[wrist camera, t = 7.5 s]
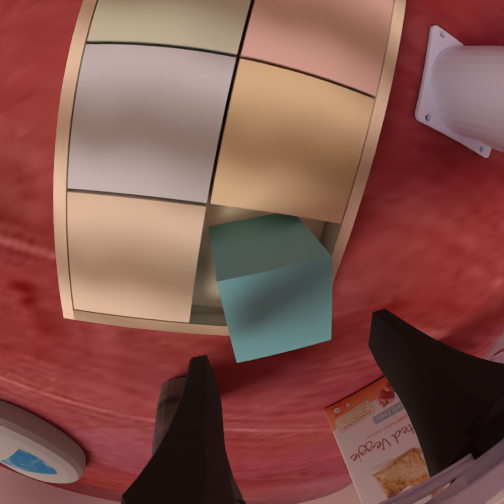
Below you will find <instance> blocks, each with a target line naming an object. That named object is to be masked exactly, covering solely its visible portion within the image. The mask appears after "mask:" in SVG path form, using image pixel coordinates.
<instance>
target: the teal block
mask: <svg viewBox="0 0 504 504" xmlns="http://www.w3.org/2000/svg"><path fill="white" fill-rule="evenodd" d="M209 233H210V240H211V247H212V254H213V261H214V268H215V274H216V281H217V285H218V290H219V294H220V298H221V302H222V306H223V310H224V314H225V318H226V322H227V327H228V330H229V334H230V338H231V342H232V346H233V350H234V354H235V358H236V362H237V363H239V362H244V361H249V360H253V359H258V358H262V357H266V356H271V355H275V354H279V353H283V352H287V351H291V350H295V349H299V348H302V347H306V346H310V345H314V344H317V343H321V342H324V341H328V340H331V327H332V256H331V255H330V253H329V252H328V251H327V250H326V249H325V247H324V246H323V245H322V244H321V243H320V242H319V240H318V239H317V238H316V237H315V236H314V235H313V234H312V232H311V231H310V230H309V229H308V228H307V227H306V225H305V224H304V223H303V222H302V221H301V220H300V219H299V217H298V216H292V215H286V214H279V213H274V214H269V215H264V216H259V217H254V218H248V219H243V220H238V221H233V222H228V223H223V224H218V225H214V226H209Z"/></svg>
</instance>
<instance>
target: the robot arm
mask: <svg viewBox="0 0 504 504" xmlns="http://www.w3.org/2000/svg"><path fill="white" fill-rule="evenodd" d="M440 33H441V35H442V37H441V35H440ZM426 115H427V120H426V119H425V116H426ZM415 118H416V119H417V120H418V121H419V122H421V123H423V124H425V125H427V126H429V127H431V128H433V129H435V130H437V131H439V132H441V133H443V134H444V135H446V136H448V137H450V138H452V139H454V140H455V141H457V142H459V143H461V144H462V145H464V146H466V147H468V148H469V149H471V150H473V151H474V152H476V153H478V154H479V155H481V156H482V157H485V158H488V157H489V155H490V152H491V148H492V149H495V150H498V151H501V152H504V46H465V45H463V44H462V43H461V42H459V41H458V40H457V39H455V38H454V37H453V36H451V35H450V34H449V33H447V32H446V31H444V30H443V29H442V28H440V27H439V26H437V25H434V26H431V28H430V34H429V41H428V47H427V54H426V60H425V66H424V71H423V77H422V82H421V87H420V92H419V97H418V101H417V106H416V110H415ZM368 345H369V348H370V350H371V352H372V354H373V356H374V358H375V360H376V362H377V364H378V366H379V367H380V369H381V371H382V372H383V374H384V375H385V377H386V378H387V380H388V382H389V383H390V385H391V386H392V388H393V389H394V391H395V392H396V394H397V396H398V397H399V399H400V400H401V402H402V404H403V406H404V408H405V410H406V412H407V414H408V416H409V419H410V421H411V423H412V426H413V428H414V430H415V433H416V435H417V438H418V441H419V443H420V446H421V449H422V452H423V455H424V459H425V462H426V465H427V469H428V473H429V476H430V478H429V479H427V480H425V481H423V482H422V483H420V484H418V485H416V486H414V487H412V488H410V489H408V490H406V491H404V492H402V493H400V494H398V495H396V496H393V497H391V498H389V499H387V500H384V501H382V502H380V503H377V504H413V503H415V502H417V501H419V500H421V499H423V498H425V497H426V496H428V495H430V494H432V493H434V492H435V491H437V490H439V489H441V488H442V487H444V486H446V485H447V484H449V483H450V482H451V483H450V484H449V486H448V487H446V488H445V489H443V490H442V491H440V492H439V493H437V494H435V495H434V496H433V497H432V498H431V499H430V500H428V501H427V502H426V503H424V504H486V503H487V502H488V501H490V500H491V499H492V498H493V497H494V496H496V495H497V494H498V493H499V492H500V491H501V490H503V489H504V364H502V363H497V362H493V361H489V360H485V359H481V358H478V357H475V356H472V355H469V354H466V353H463V352H461V351H458V350H456V349H454V348H451V347H449V346H447V345H445V344H443V343H441V342H439V341H437V340H435V339H433V338H431V337H430V336H428V335H426V334H424V333H423V332H421V331H419V330H418V329H416V328H415V327H413V326H411V325H410V324H408V323H407V322H405V321H403V320H402V319H400V318H399V317H397V316H396V315H394V314H392V313H391V312H389V311H388V310H386V309H382V310H379V311H376V312H373V314H372V322H371V330H370V337H369V344H368ZM121 504H236V501H235V497H234V493H233V489H232V484H231V480H230V475H229V471H228V466H227V461H226V454H225V444H224V431H223V417H222V405H221V400H220V394H219V389H218V384H217V382H216V379H215V376H214V374H213V371H212V368H211V366H210V363H209V360H208V357H207V355H203V356H198V357H193V358H191V360H190V364H189V368H188V373H187V377H186V380H185V384H184V387H183V390H182V393H181V396H180V399H179V402H178V405H177V408H176V410H175V413H174V415H173V418H172V420H171V422H170V425H169V427H168V429H167V431H166V433H165V435H164V437H163V439H162V441H161V442H160V444H159V446H158V448H157V450H156V451H155V453H154V455H153V456H152V458H151V459H150V461H149V462H148V464H147V465H146V466H145V468H144V469H143V471H142V472H141V473H140V475H139V476H138V477H137V479H136V480H135V481H134V482H133V483H132V485H131V486H130V487H129V488H128V489H127V490H126V491H125V493H124V494H123V495H122V499H121Z"/></svg>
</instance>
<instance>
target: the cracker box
mask: <svg viewBox="0 0 504 504" xmlns="http://www.w3.org/2000/svg"><path fill="white" fill-rule="evenodd" d="M324 411H325V413H326V416H327V418H328V421H329V423H330V426H331V429H332V431H333V434H334V436H335V438H336V441H337V443H338V446H339V448H340V451H341V453H342V455H343V458H344V460H345V463H346V465H347V468H348V470H349V473H350V476H351V478H352V481H353V483H354V485H355V488H356V491H357V493H358V496H359V498H360V501H361V503H362V504H377V503H380V502H382V501H384V500H387V499H389V498H391V497H393V496H396V495H398V494H400V493H402V492H404V491H406V490H408V489H410V488H412V487H414V486H416V485H418V484H420V483H422V482H423V481H425V480H427V479H429V478H430V476H429V473H428V469H427V465H426V462H425V459H424V455H423V452H422V449H421V446H420V443H419V441H418V438H417V435H416V433H415V430H414V428H413V426H412V423H411V421H410V419H409V416H408V414H407V412H406V410H405V408H404V406H403V404H402V402H401V400H400V399H399V397H398V396H397V394H396V392H395V391H394V389H393V388H392V386H391V385H390V383H389V382H388V380H387V378H386V377H385V376H384V377H383V378H381V379H379V380H378V381H376V382H374V383H372V384H371V385H369V386H367V387H365V388H364V389H362V390H360V391H358V392H356V393H355V394H353V395H351V396H349V397H347V398H345V399H343V400H341V401H339V402H337V403H335V404H333V405H331V406H329V407H327V408H326V409H324ZM450 483H451V482H450ZM450 483H449V484H450ZM449 484H447V485H446V486H444V487H442V488H441V489H439V490H437V491H435V492H434V493H432V494H430V495H428V496H426V497H425V498H423V499H421V500H419V501H417V502H415V503H413V504H424V503H426V502H427V501H428V500H430V499H431V498H432V497H433V496H434V495H435V494H437V493H439V492H440V491H442V490H443V489H445V488H446V487H448V486H449ZM503 501H504V489H503V490H501V491H500V492H499V493H498V494H497V495H496V496H494V497H493V498H492V499H491V500H490V501H488V502H487V503H486V504H500V503H502V502H503Z"/></svg>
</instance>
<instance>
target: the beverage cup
mask: <svg viewBox="0 0 504 504" xmlns="http://www.w3.org/2000/svg"><path fill="white" fill-rule="evenodd" d="M185 380H186V377H178V378H173V379H171V380H168V381H167V382H165V383H164V384H163V385H162V387H161V394H160V398H159V401H158V407H157V414H156V422H155V431H154V440H153V449H152V456H153V455H154V453H155V451H156V450H157V448H158V446H159V444H160V442H161V441H162V439H163V437H164V435H165V433H166V431H167V429H168V427H169V425H170V422H171V420H172V418H173V415H174V413H175V410H176V408H177V405H178V402H179V399H180V396H181V393H182V390H183V387H184V384H185ZM225 454H226V450H225ZM226 461H227V466H228V471H229V475H230V480H231V484H232V489H233V493H234V497H235V501H236V504H246V503H245V501H243V498H242V495H241V492H240V490H239V488H238V486H237V483H236V482H235V480H234V479H233V475H232V472H231V468H230V464H229V461H228V457H227V454H226Z"/></svg>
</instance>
